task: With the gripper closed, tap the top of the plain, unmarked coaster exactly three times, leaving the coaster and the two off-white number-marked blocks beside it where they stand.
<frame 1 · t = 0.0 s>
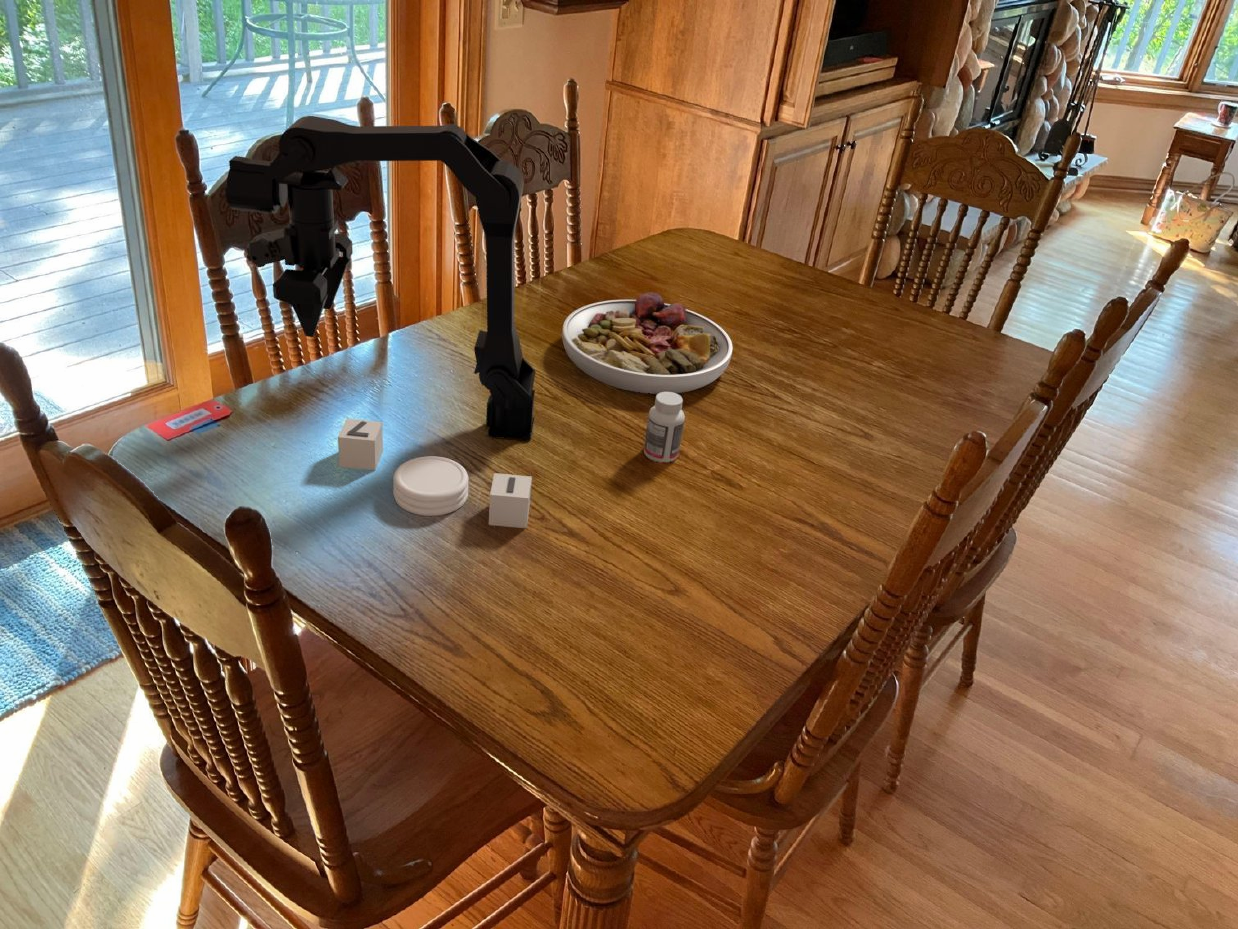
hand: (318, 322, 140), 15 cm above the table, tool pointing down, fingers open, 9 cm apart
block seven: (361, 459, 138), on the table
bowl: (644, 361, 174), on the table
block one: (509, 515, 131), on the table
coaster: (431, 497, 133), on the table
pill bottle: (660, 455, 148), on the table
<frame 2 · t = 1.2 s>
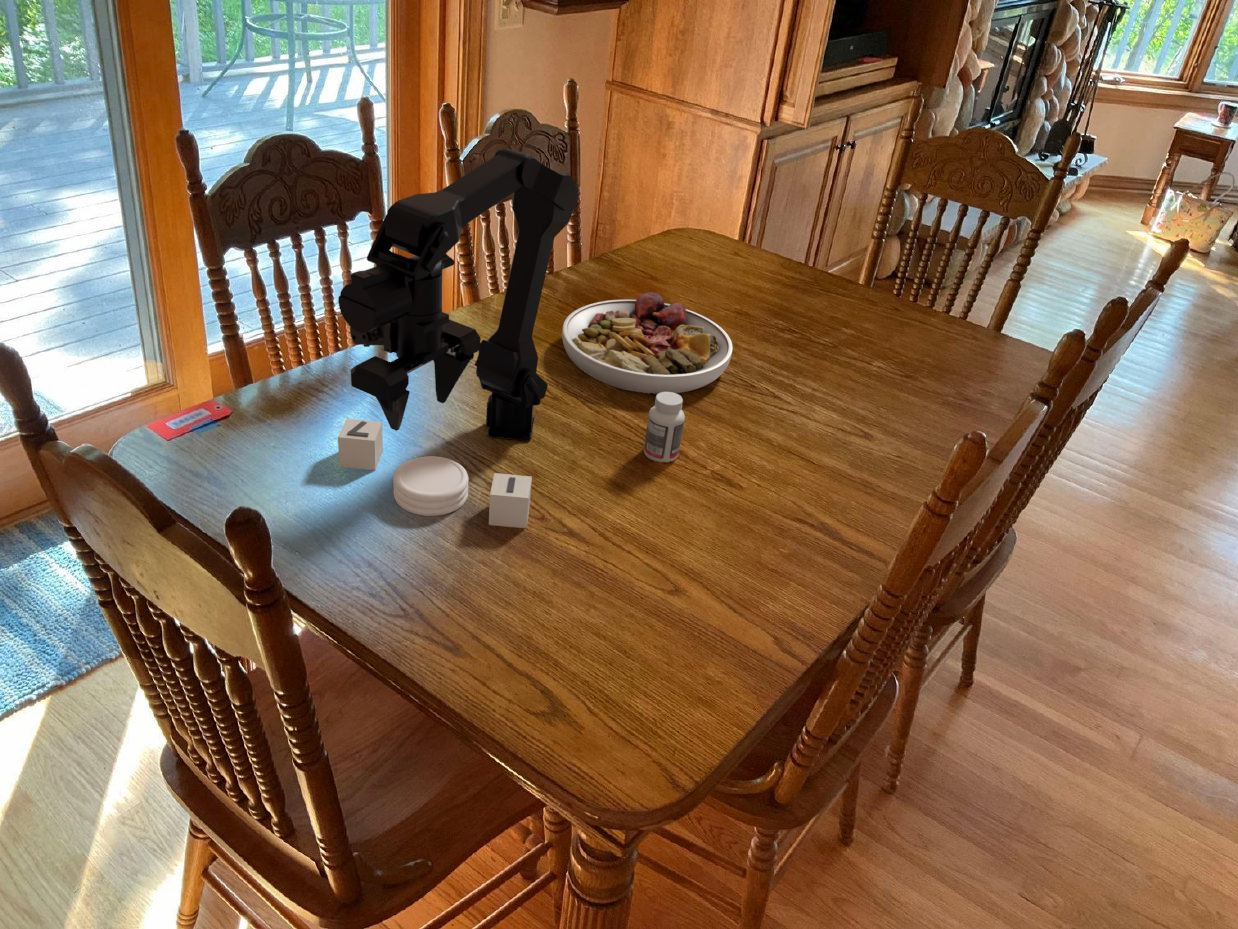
hand: (418, 415, 128), 11 cm above the table, tool pointing down, fingers open, 9 cm apart
nothing on the table moved.
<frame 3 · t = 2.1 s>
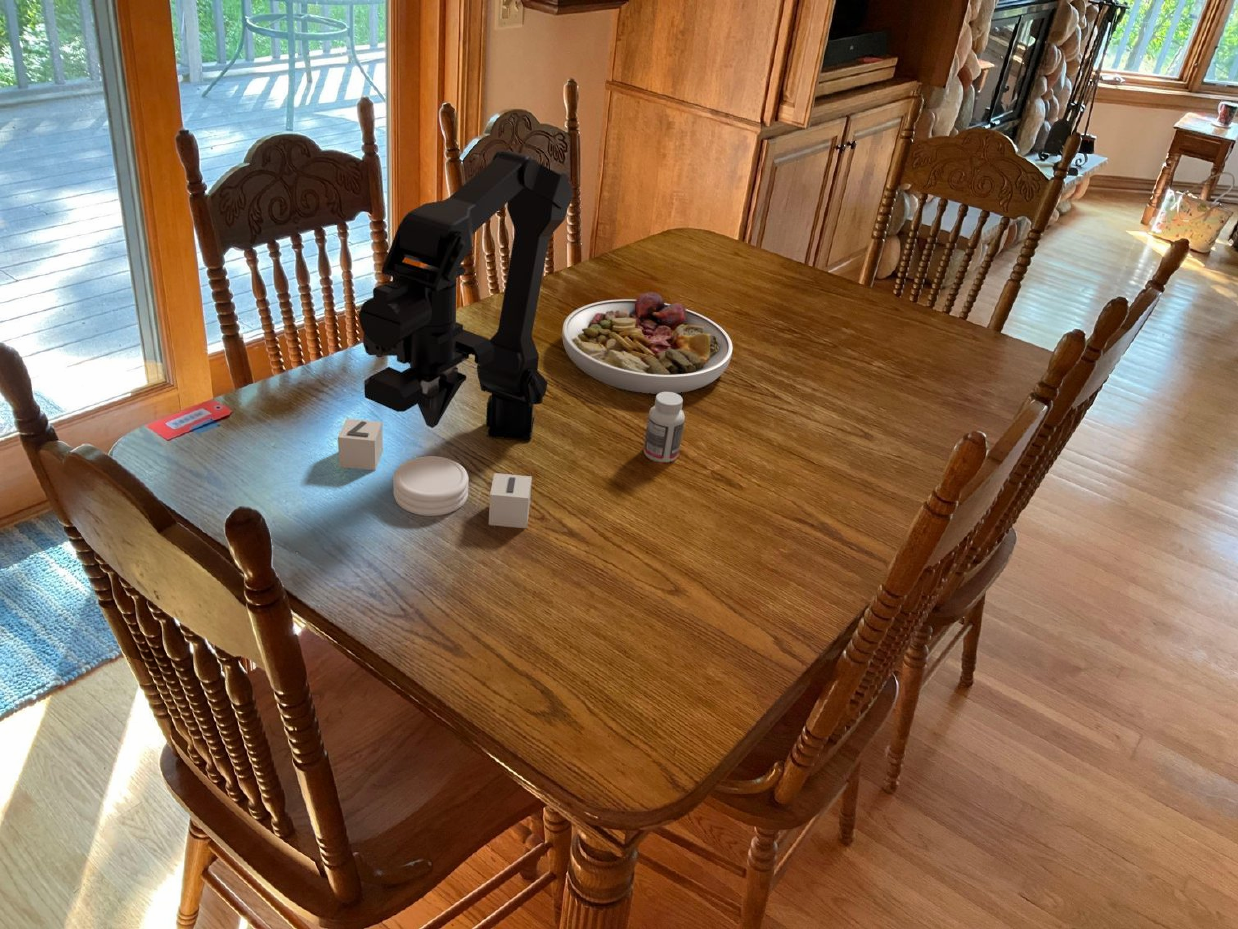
hand: (431, 425, 127), 11 cm above the table, tool pointing down, fingers closed
nothing on the table moved.
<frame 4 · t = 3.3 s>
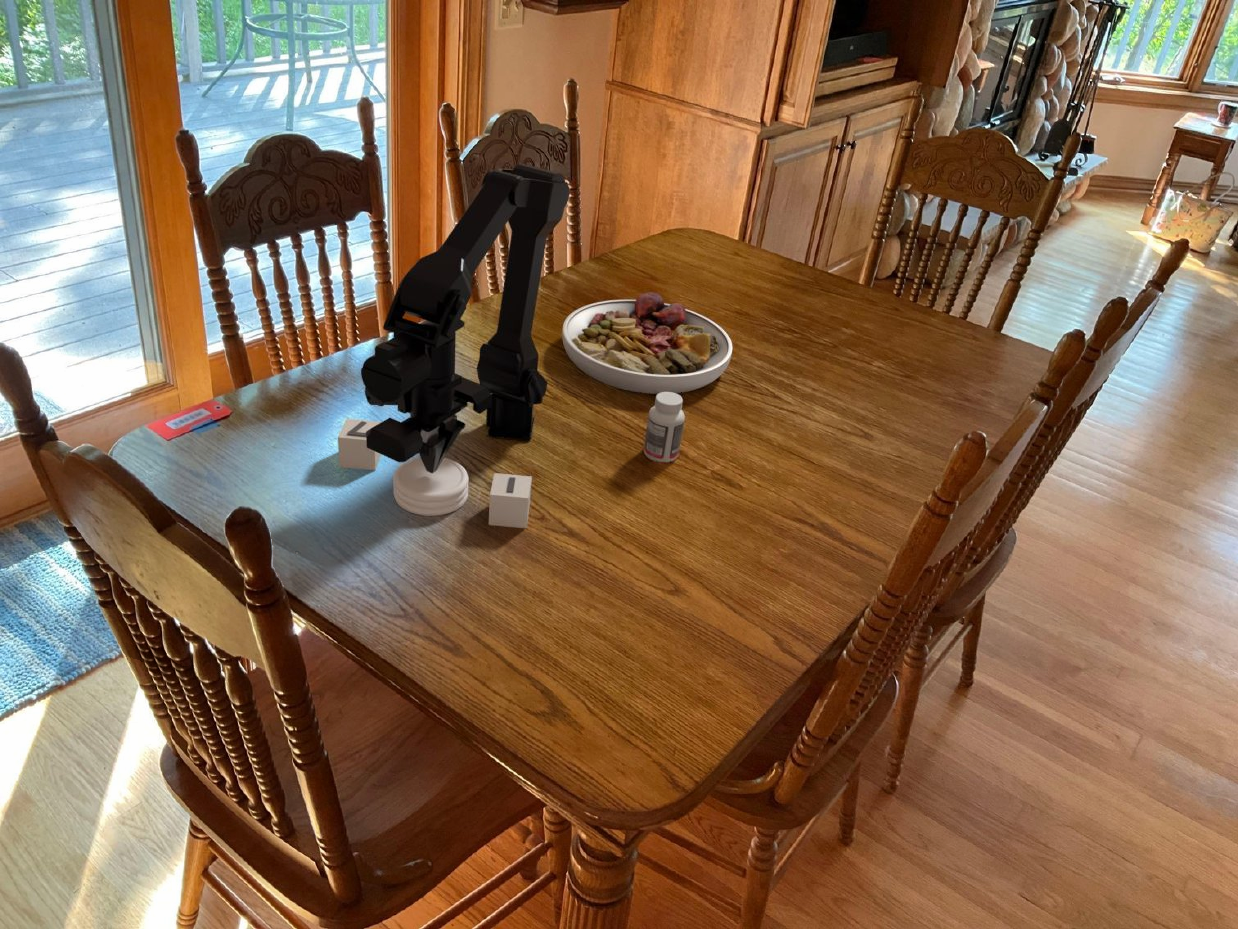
hand: (431, 471, 131), 4 cm above the table, tool pointing down, fingers closed
nothing on the table moved.
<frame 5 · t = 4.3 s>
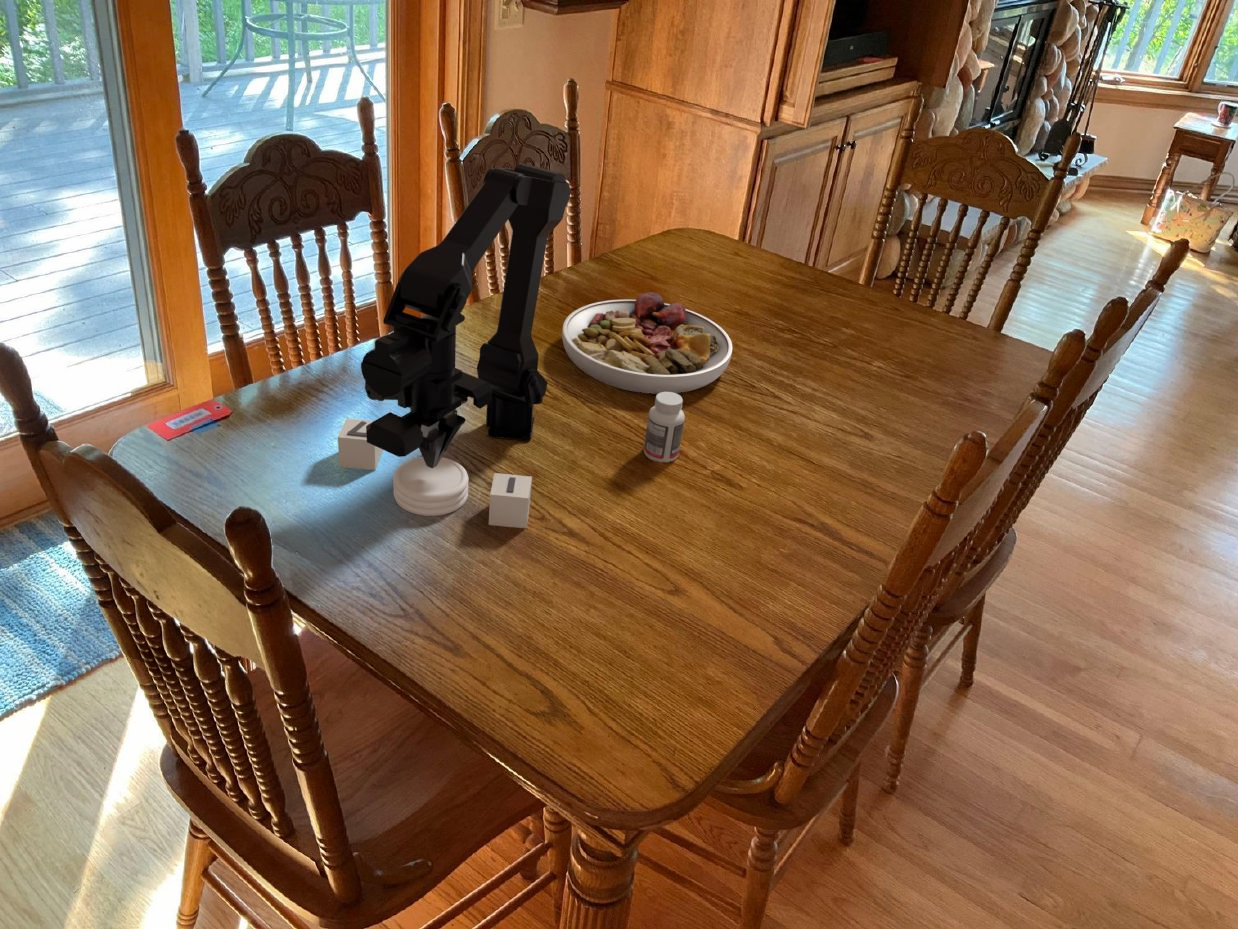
hand: (431, 466, 130), 5 cm above the table, tool pointing down, fingers closed
nothing on the table moved.
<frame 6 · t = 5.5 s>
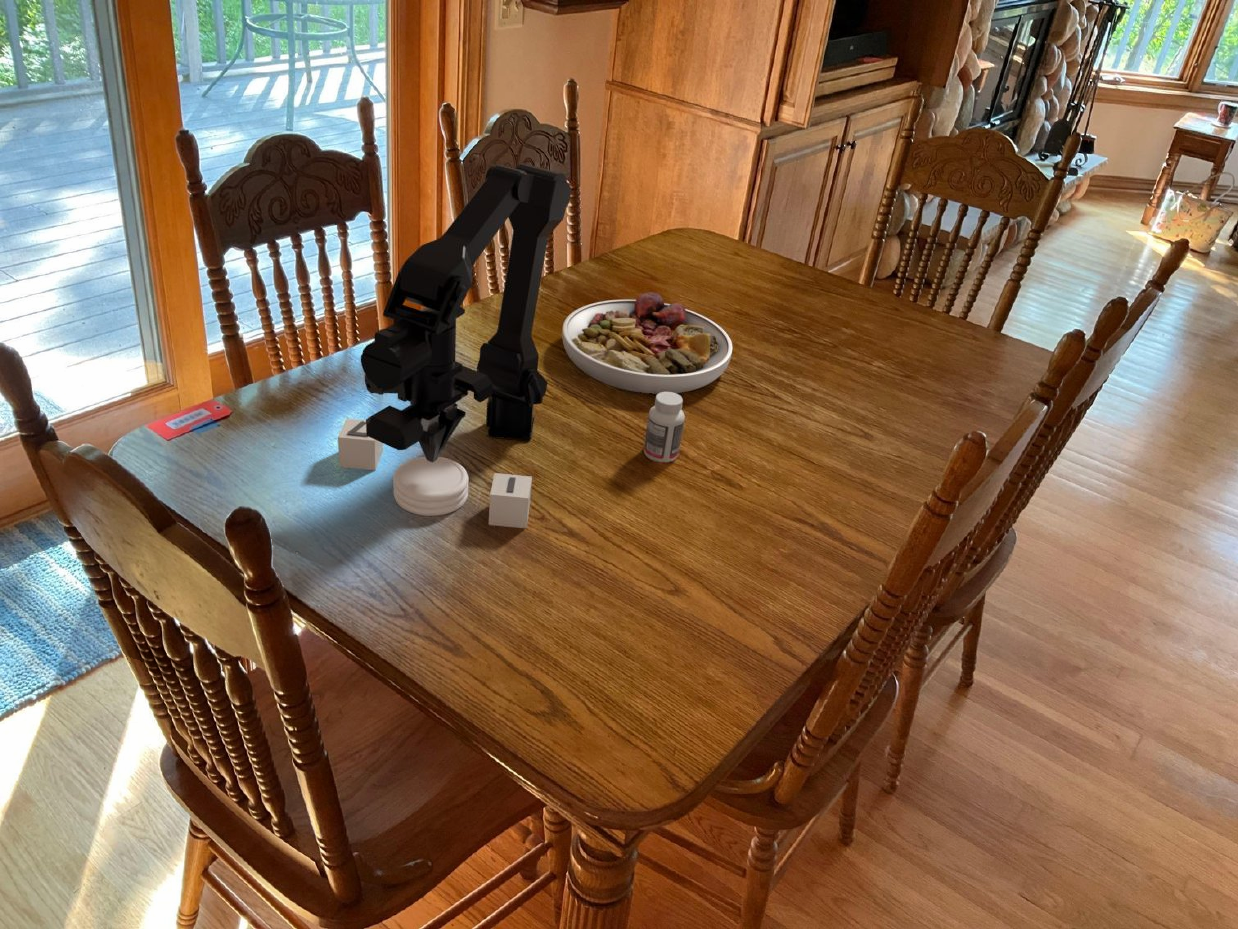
hand: (431, 460, 130), 6 cm above the table, tool pointing down, fingers closed
nothing on the table moved.
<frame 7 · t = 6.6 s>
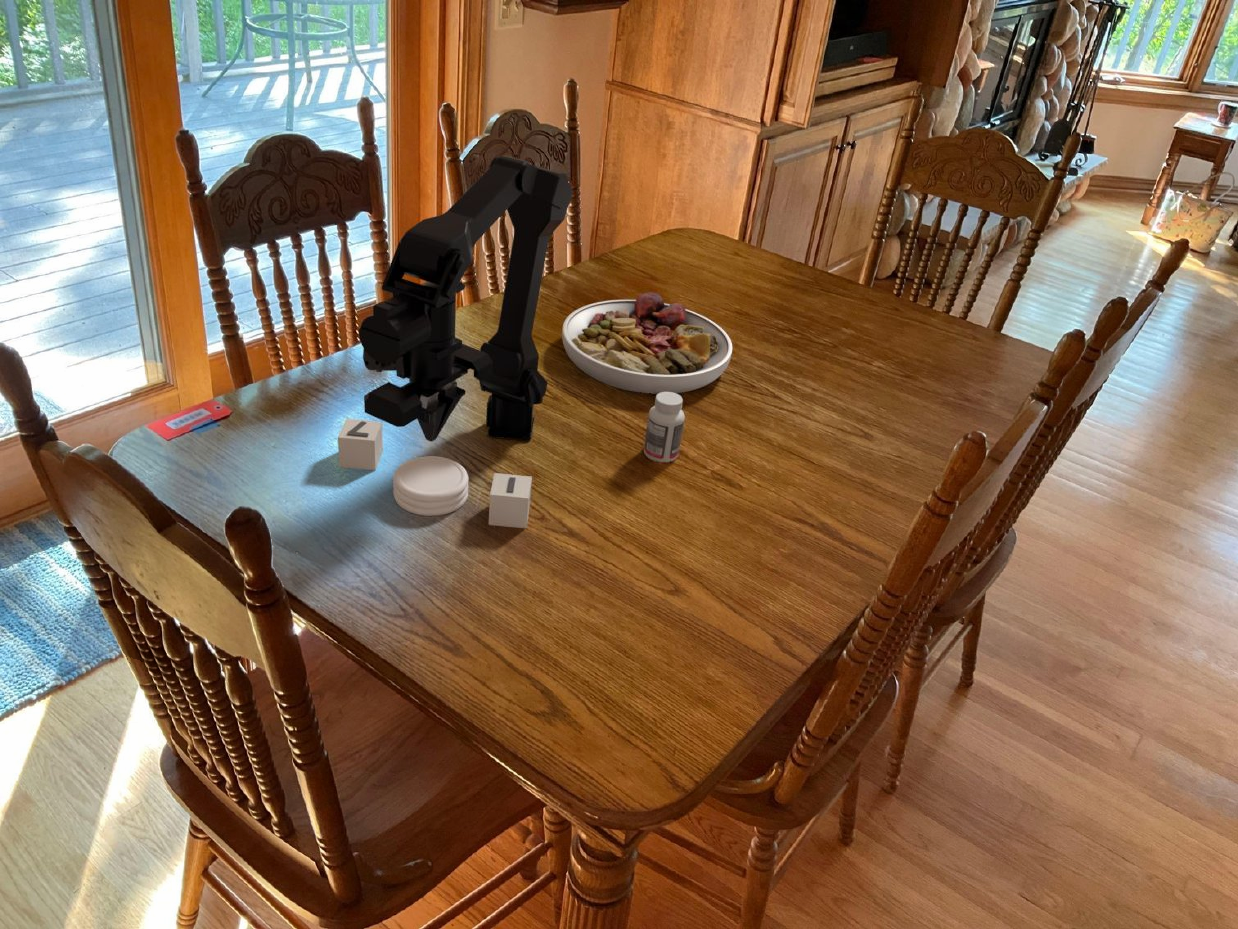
hand: (430, 439, 128), 9 cm above the table, tool pointing down, fingers closed
nothing on the table moved.
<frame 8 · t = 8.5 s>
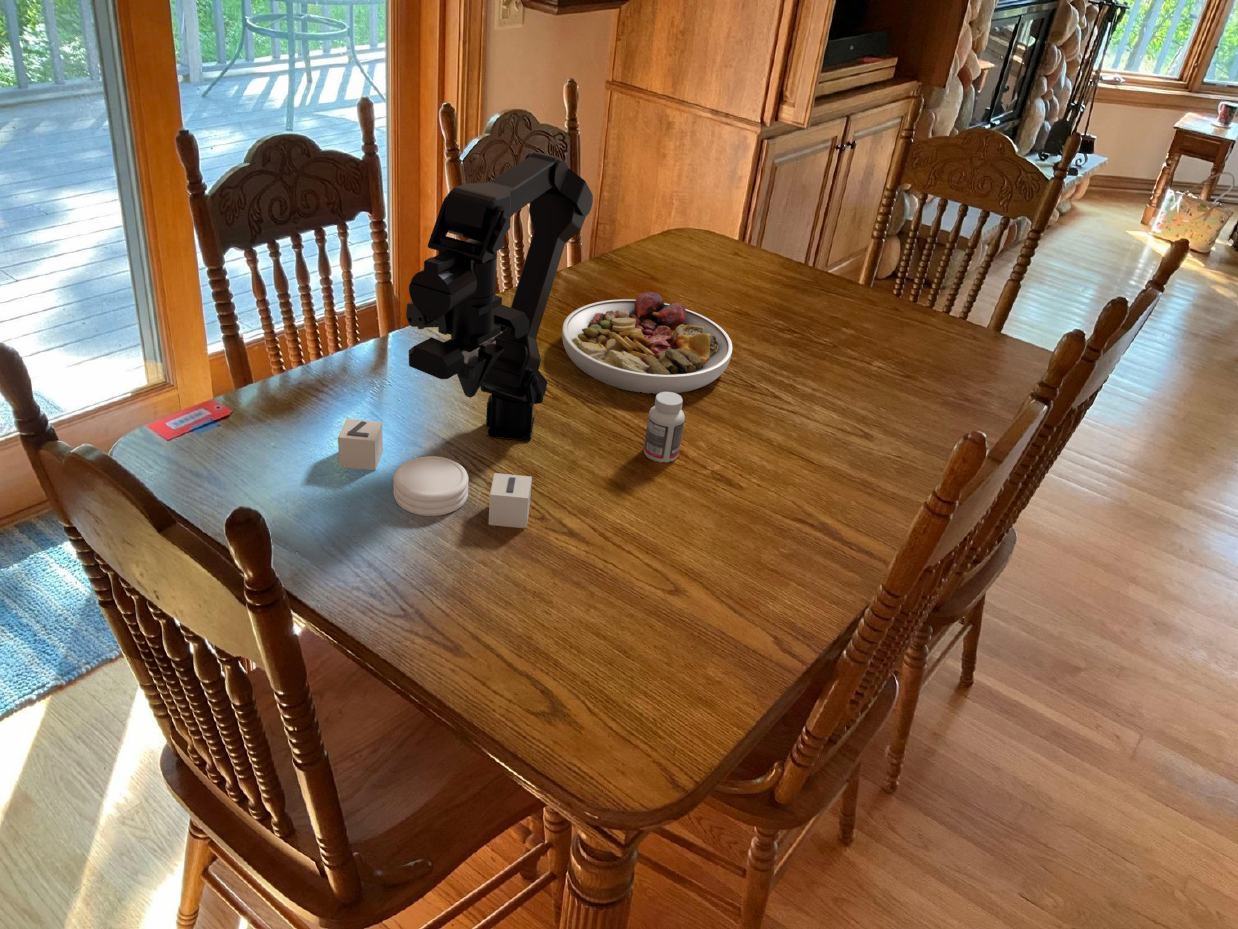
hand: (469, 395, 132), 12 cm above the table, tool pointing down, fingers closed
nothing on the table moved.
at the end: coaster moved 0.5 cm from its start; block one moved 0.1 cm from its start; block seven moved 0.1 cm from its start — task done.
